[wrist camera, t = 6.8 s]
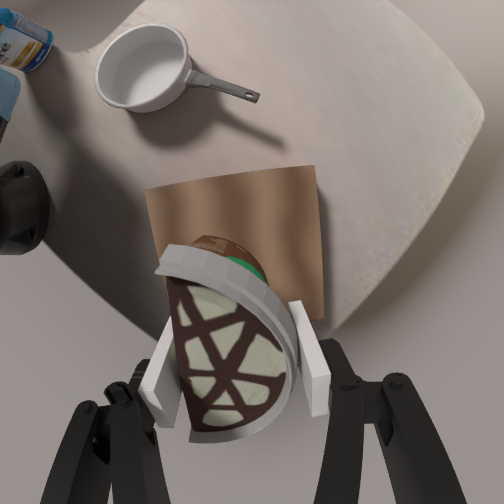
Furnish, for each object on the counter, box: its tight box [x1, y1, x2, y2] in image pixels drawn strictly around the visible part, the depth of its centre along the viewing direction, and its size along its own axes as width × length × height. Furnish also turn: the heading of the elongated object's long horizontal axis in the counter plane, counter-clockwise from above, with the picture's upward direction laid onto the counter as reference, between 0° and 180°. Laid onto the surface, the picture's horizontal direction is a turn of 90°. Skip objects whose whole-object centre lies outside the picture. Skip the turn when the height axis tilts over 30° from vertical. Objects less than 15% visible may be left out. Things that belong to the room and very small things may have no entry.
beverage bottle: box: [0, 8, 53, 72], centre depth 13 cm, size 8×8×20 cm
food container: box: [154, 235, 299, 443], centre depth 16 cm, size 12×6×10 cm, turn 179°
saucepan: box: [94, 23, 260, 113], centre depth 25 cm, size 12×20×6 cm, turn 66°
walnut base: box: [144, 165, 324, 321], centre depth 32 cm, size 18×18×5 cm
